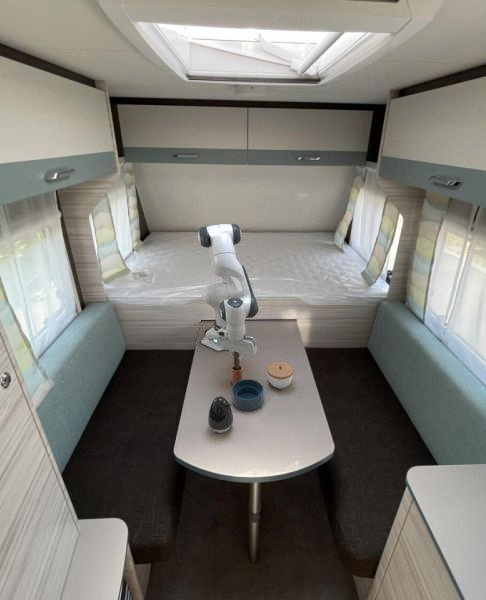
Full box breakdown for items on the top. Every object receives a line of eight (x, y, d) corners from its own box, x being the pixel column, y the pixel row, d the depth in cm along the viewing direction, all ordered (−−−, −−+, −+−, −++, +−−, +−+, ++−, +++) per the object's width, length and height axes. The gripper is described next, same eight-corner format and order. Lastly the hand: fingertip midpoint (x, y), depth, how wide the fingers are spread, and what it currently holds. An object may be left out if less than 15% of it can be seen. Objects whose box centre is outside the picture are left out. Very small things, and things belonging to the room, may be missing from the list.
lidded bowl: (278, 373, 168) (279, 355, 164) (298, 384, 160) (299, 365, 156) (261, 384, 160) (262, 365, 156) (281, 396, 152) (281, 377, 148)
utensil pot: (230, 384, 160) (229, 369, 157) (235, 378, 164) (235, 363, 161) (239, 387, 158) (238, 372, 154) (244, 381, 162) (244, 366, 158)
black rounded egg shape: (223, 441, 128) (222, 410, 122) (203, 430, 133) (201, 400, 127) (238, 424, 136) (237, 395, 130) (218, 415, 141) (217, 386, 135)
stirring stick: (234, 382, 160) (233, 351, 153) (236, 380, 162) (235, 349, 155) (238, 384, 159) (237, 352, 152) (240, 381, 161) (239, 350, 154)
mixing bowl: (226, 405, 146) (225, 393, 144) (242, 387, 158) (242, 375, 155) (254, 416, 140) (254, 403, 138) (268, 396, 152) (268, 384, 149)
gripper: (259, 335, 148) (259, 360, 153) (221, 325, 157) (222, 349, 162) (252, 341, 143) (252, 367, 148) (214, 330, 151) (215, 356, 157)
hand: (236, 358), depth 155 cm, fingers closed on stirring stick, 2 cm apart
